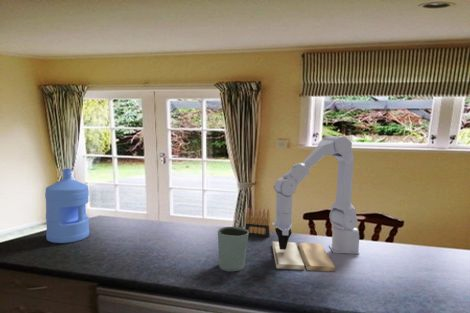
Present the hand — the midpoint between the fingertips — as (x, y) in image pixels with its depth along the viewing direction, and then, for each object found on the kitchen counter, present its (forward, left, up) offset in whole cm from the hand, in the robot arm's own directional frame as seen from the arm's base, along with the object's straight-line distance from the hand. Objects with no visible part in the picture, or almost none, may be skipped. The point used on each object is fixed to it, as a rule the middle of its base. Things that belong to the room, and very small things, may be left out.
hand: (282, 248), depth 120 cm
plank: (-2, 0, -3) cm, 3 cm away
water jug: (+86, -12, -3) cm, 86 cm away
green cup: (+18, +10, -3) cm, 20 cm away
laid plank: (-11, 0, -3) cm, 12 cm away
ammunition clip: (+9, -23, -3) cm, 25 cm away
